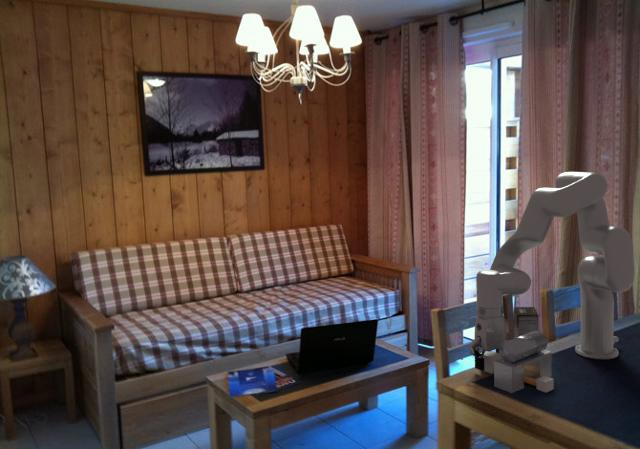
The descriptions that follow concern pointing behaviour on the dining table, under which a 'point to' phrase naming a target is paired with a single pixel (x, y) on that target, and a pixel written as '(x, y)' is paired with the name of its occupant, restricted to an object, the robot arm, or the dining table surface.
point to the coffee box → (525, 320)
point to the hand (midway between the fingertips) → (490, 365)
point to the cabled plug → (541, 383)
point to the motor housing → (521, 361)
